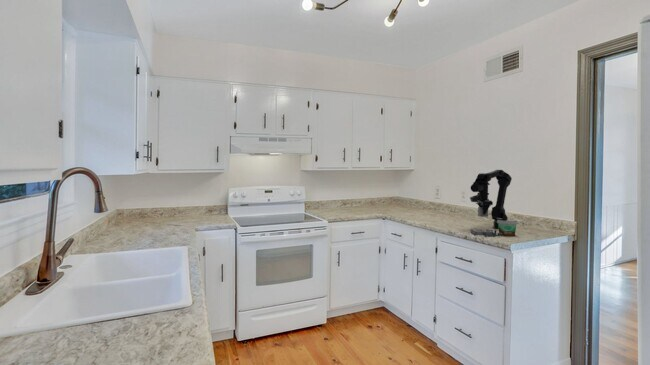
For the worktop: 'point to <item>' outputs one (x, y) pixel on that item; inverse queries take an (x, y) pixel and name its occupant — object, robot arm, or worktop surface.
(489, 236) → the clip
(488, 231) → the holder
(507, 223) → the food container
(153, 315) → the worktop surface
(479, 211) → the block
